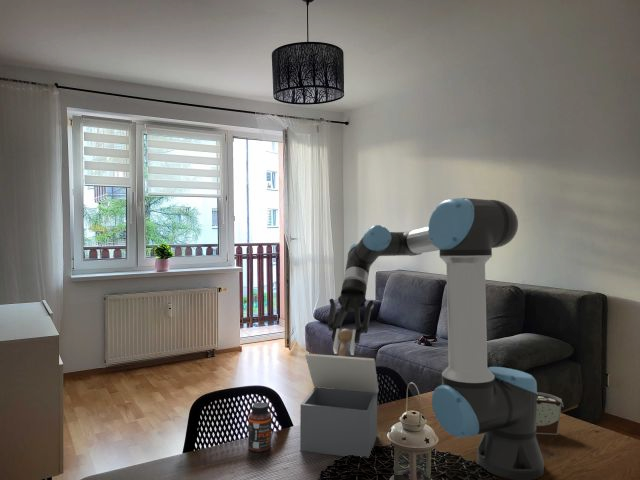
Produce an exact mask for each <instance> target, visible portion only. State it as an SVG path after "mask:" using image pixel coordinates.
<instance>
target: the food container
mask: <svg viewBox="0 0 640 480" xmlns="http://www.w3.org/2000/svg"><path fill="white" fill-rule="evenodd" d="M537 392H538V391H537ZM562 408H564V402H563V399H562V398H560V397H558V396H555V395H553V394H549V393H545V392H538V394H537V415H536V435H551V436H552V435H556V436H558V435H559V434H558V433H559V426H560V421H561V419H560V418H561V412H562Z"/></svg>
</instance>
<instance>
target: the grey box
mask: <svg viewBox="0 0 640 480" xmlns="http://www.w3.org/2000/svg"><path fill="white" fill-rule="evenodd" d="M299 412H300V418H299V420H300V422H299V424H300V427H299V431H300V433H299V434H300V437H299V438H300V442H299V443H300V444H299V445H300V449H299V450H300V451H302V452H309V453H315V454H324V455H329V456H330V455H331V456H338V457H345V456H348V455H356V456H366V457H369V456H370V453H371V450H372V448H373V449H374V446H375V443H376V440H377V437H378V436H377V435H378V393H374V392H363V391H353V390H342V389H331V388H321V387H313V389H311V391H310V392H309V394H308V395H307V396H306V398H304V399H303V401H302V402H301V403H300V411H299ZM372 451H373V450H372ZM371 454H372V453H371ZM370 457H371V456H370Z"/></svg>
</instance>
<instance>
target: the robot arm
mask: <svg viewBox="0 0 640 480" xmlns="http://www.w3.org/2000/svg"><path fill="white" fill-rule="evenodd" d="M518 229H519V220H518V216H517V214H516V212H515V210H514V209H513V208H512V207H511V206H510V205H509V204H507V203H506V202H503V201H500V200H496V199H480V198H468V197H467V198H466V197H458V198H457V197H456V198H447V199H445V200H443V201H441V202H440V203H439V204H438V205H436V207H435V209H433V211H432V212H431V215H430V218H429V221H428V226H425V227H420V228H417V229H413V230H412V229H411V230H407V231H390V230H389V229H388V228H386V227H385V226H382V225H380V224H374V225H373V226H371V227H369V228H368V230H367V231H366V232H365V233H364V234H363V236H362V238H361V239H360V240H359V242H355V243H353V244H352V245H351V246H350V248H349V251H348V253H347V259H346V260H347V261H346V265H345V271H344V276H343V281H342V285H341V291H340V294H339V296H338V297H337V298H336V299H333V298H330V299H329V304H330V307H329V312H328V320H327V328H328V331H330V332H332V333H331V340H332V343H333V346H332V349H333V350H332V351H333V354H335V355H338V352H339V347H340V345H339V344H340V340H339V337H338V335H339V332H340V331H341V328H342V325H343V322H344V320H345V318H346V316H347V315H348V312H352V313H354V322H355V329H352V339H351V341H350V345H349V353H350V355H351V356H354V355H355V350H356V344H360V340H361V334H367V333H368V332H369V326H370V319H371V316H372V315H371V314H372V311H373V310H374V309H375V305H374V301H373V300H367V298H366V295H367V289H368V288H367V286H368V283H369V282H368V281H369V276H370V270H371V267H372V265H373V264H374V262H376V260H377V259H378V258H379V257H395V256H403V257H404V256H409V257H413V256H418V255H422V254H424V253H430V252H437V251H439V258H440V259H441V261H443V262H444V263H445V265H446V300H447V301H446V303H447V304H446V305H447V306H446V307H447V311H446V312H447V344H448V345H447V346H448V347H447V349H448V351H447V354H448V355H447V356H448V360H447V361H448V366H447V367H446V368H445V369H444V370H443V371H441V382H442V383H441V385H438V386H437V387H436V388H435V389H434V390H433V392H432V397H431V406H432V410H433V413H434V415H435V418H436V420H437V422H438V423H439V425H440V427H442V429H443V430H444V431H445V432H447V433H448V434H449V435H450V436H453V438H454V437H455V438H459V439H463V438H470V437H471V438H473V437H476V436H478V435H481V434H482V436H481V439H480V441H479V444H478V447H477V450H476V461H477V463H478V465H479V466H480V467H481V466H482V467H483V468H484V470H485V469H486V470H487V471H486V470H485V471H486V472H488V473H490V474H492V475H494V476H497V477H500V478H504V479H507V480H536V479H537V480H538V479H539V478H541V477H542V476H543V475H544V471H545V469H544V467H545V463H544V462H545V461H544V458H543V455H542V452H541V449H540V446H539V443H538V442H539V441H538V439H537V434H536V415H537V394H538V386H537V385H538V384H537V380H536V378H535V377H534V376H533V375H532V374H530V373H528V372H525V371H522V370H518V369H514V368H510V367H509V368H507V367H502V366H489V367H488V345H487V344H488V341H487V340H488V339H487V338H488V337H487V335H488V334H487V298H486V297H487V296H486V295H487V293H486V289H487V288H486V286H487V285H486V264H487V262H488V261H489V260H490V259H491V258H492V256H493V253H492V250H493V249H494V248H496V249H497V248H500V247H504V246H505V245H507V244H509V243H511V241H512V240H513V239H514V238H515V236H516V234H517V233H518ZM338 304H339V305H340V306H341V307H340V310H339V313H338V315H337V317H336V313H337V310H336V308H338ZM364 306H365V311H364V317H363V320H362V326H361V317H360V310H361V309H362V308H364ZM335 318H336V319H335ZM482 467H481V468H482ZM483 468H482V469H483Z"/></svg>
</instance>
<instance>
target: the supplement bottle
mask: <svg viewBox="0 0 640 480" xmlns="http://www.w3.org/2000/svg"><path fill="white" fill-rule="evenodd" d="M251 410H252V411H251V412H250V413H249V415H248V427H247V428H248V431H247V432H248V435H247V436H248V441H247V442H248V445H247V446H248V449H249V450H250V451H252V452H256V453H260V452H262V453H263V452H265V451H267V450H269V449H270V448H271V446H272V413H271V412H270V411H269V405H268V403H266V402H262V401H260V402H259V401H258V402H255V403H253V404H252V409H251Z"/></svg>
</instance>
